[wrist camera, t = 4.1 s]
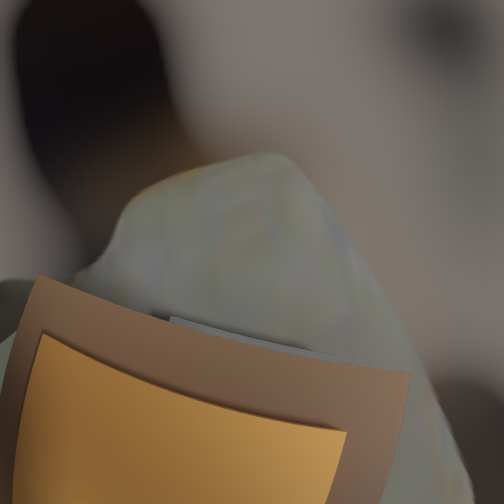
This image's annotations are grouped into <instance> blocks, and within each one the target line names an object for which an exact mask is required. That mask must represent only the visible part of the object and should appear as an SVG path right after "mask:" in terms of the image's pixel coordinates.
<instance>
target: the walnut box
mask: <svg viewBox="0 0 504 504" xmlns="http://www.w3.org/2000/svg"><path fill="white" fill-rule="evenodd" d="M410 377H411V373H403V372H395V371H387V370H380V369H373V368H366V367H359V366H353V365H347V364H341V363H335V362H330V361H324V360H319V359H314V358H309V357H304V356H299V355H294V354H290V353H285V352H280V351H276V350H271V349H267V348H263V347H259V346H255V345H250V344H246V343H242V342H238V341H235V340H231V339H227V338H223V337H219V336H216V335H212V334H209V333H205V332H201V331H198V330H195V329H191V328H188V327H184V326H181V325H178V324H175V323H171V322H168V321H165V320H162V319H159V318H156V317H153V316H149V315H146V314H143V313H141V312H138V311H135V310H132V309H129V308H126V307H123V306H120V305H118V304H115V303H112V302H109V301H107V300H104V299H101V298H99V297H96V296H93V295H91V294H88V293H86V292H83V291H81V290H78V289H76V288H73V287H71V286H68V285H66V284H63V283H61V282H59V281H56V280H54V279H51V278H49V277H47V276H45V275H42V274H40V273H39V274H38V276H37V278H36V280H35V283H34V285H33V288H32V290H31V293H30V295H29V298H28V300H27V303H26V306H25V308H24V311H23V314H22V317H21V320H20V323H19V325H18V329H17V332H16V335H15V338H14V341H13V345H12V348H11V351H10V355H9V359H8V362H7V366H6V370H5V374H4V379H3V383H2V388H1V393H0V504H379V501H380V499H381V496H382V493H383V490H384V487H385V484H386V481H387V478H388V475H389V471H390V468H391V465H392V461H393V458H394V454H395V450H396V446H397V443H398V438H399V434H400V430H401V426H402V421H403V416H404V412H405V406H406V401H407V396H408V390H409V384H410Z"/></svg>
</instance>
